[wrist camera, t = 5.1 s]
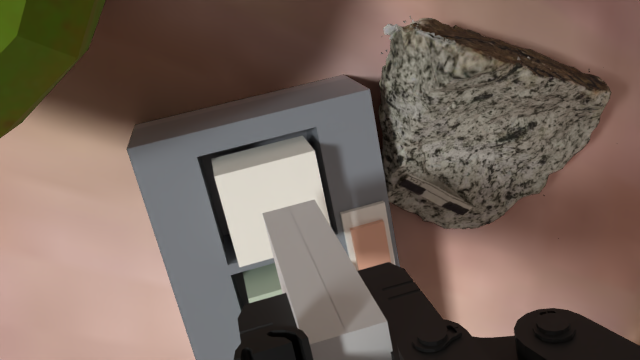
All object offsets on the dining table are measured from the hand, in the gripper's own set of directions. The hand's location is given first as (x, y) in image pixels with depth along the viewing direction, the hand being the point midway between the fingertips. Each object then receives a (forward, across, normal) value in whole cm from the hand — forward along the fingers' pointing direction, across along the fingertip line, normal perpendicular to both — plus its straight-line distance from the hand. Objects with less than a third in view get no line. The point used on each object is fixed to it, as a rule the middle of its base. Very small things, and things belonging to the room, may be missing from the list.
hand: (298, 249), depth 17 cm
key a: (+4, 0, 0) cm, 4 cm away
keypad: (+7, 0, -4) cm, 8 cm away
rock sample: (+8, +9, 0) cm, 11 cm away
